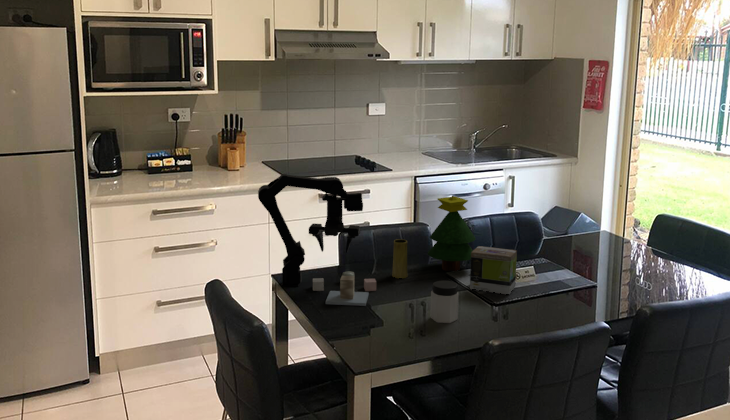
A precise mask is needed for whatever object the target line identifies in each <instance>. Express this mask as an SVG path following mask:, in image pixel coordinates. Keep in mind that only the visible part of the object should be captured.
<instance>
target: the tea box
mask: <svg viewBox="0 0 730 420" xmlns="http://www.w3.org/2000/svg"><path fill="white" fill-rule="evenodd" d="M472 250H473V251H472V252H471V259H470V272H469V275H470V276H469V289H470V290H472V289H476V290H475V291H479V290H483V291H482V292H486V291H489V292H488V293H493V292H495V293H494V294H500V293H501V295H506V294H509V295H510V294H511V293H512V292H513V291H514V289H515V288H516V280H517V261H518V260H517V257H518V255H517V253H518V250H516V249H507V248H498V247H490V246H482V245H481V246H480V245H478V246H477V247H476V248H474V249H472ZM514 287H515V288H514ZM512 290H513V291H512ZM511 291H512V292H511Z"/></svg>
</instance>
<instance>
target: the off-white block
mask: <svg viewBox="0 0 730 420" xmlns="http://www.w3.org/2000/svg"><path fill="white" fill-rule="evenodd" d="M324 285H325V280H324V278H323V277H322V278H321V277H320V278H312V292H313V291H317V292H321V291H325V286H324Z"/></svg>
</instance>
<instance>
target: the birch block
mask: <svg viewBox="0 0 730 420" xmlns="http://www.w3.org/2000/svg"><path fill="white" fill-rule="evenodd" d="M355 279H356V278H355V275H354V276H343V275H341V277H340V280H339V281H340V283H339V287H340V288H339V289H340V290H339V291H340V299H353V298H354V292H355Z"/></svg>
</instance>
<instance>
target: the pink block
mask: <svg viewBox="0 0 730 420" xmlns="http://www.w3.org/2000/svg"><path fill="white" fill-rule="evenodd" d="M363 288H364V292H375V291H377V280H376V278H364V279H363Z"/></svg>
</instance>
